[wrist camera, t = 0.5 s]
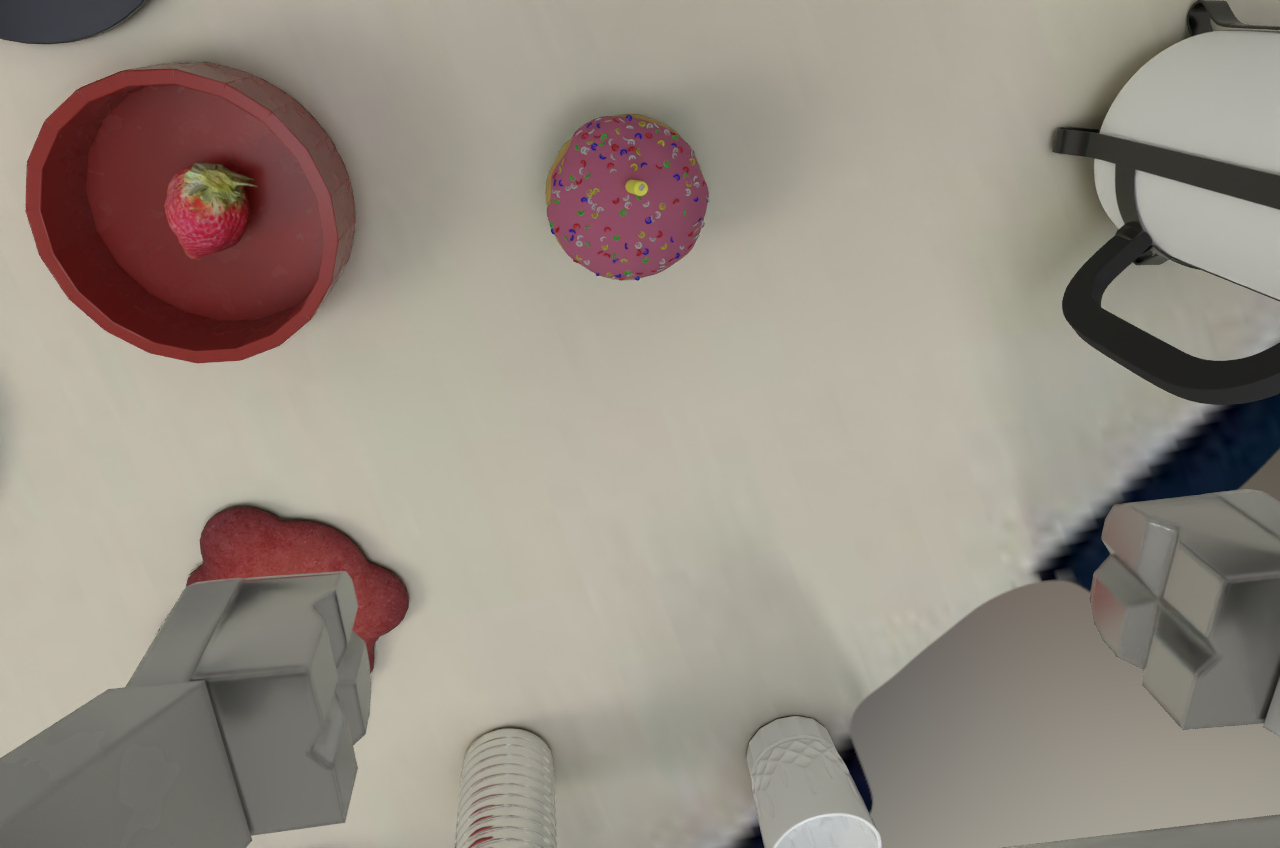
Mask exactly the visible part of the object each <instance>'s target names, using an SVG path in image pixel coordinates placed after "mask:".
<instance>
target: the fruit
mask: <svg viewBox="0 0 1280 848" xmlns="http://www.w3.org/2000/svg"><path fill="white" fill-rule="evenodd" d="M253 180H254V179H251V178H249V177H247V176H244V175H241V174H238V173H235V172H233V171H231V170H229V169H228V168H226V167H224V166H223V165H220V164H212V163H194V164H193V165H192V166H189V167H186V168H183V169H182V170H180V171H179V172H178V173H176V174H175V175H174V176H173V177H172V179H171V181H170V183H169V185H168V189H167V199H166V201H165V205H164V207H165V212H166V216H167V219H168V224H169V226H170V228H171V229H172V231H173V232H174V233H175V234H176V236H177V237H178V240H179V243H180V244H181V245H182V247H183V249H184V251H185V253H186V255H187V256H188V257H189V258H191V259H199V258H201V257H202V256H204V255H206V254H213V253H216V252H219V251H223V250H225V249H228V248H230V247H232V246H235V245H236V244H237V243H238V242H239V241H240V240H241V238H242V236H243V235H244V233H245V230H246V227H247V225H248V221H249V216H250V205H249V199H248V196H247V193H246V191H245V190H244V186H254V187H258V186H256V185H252V184H249V183H247V182H248V181H253Z"/></svg>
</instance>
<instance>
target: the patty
mask: <svg viewBox="0 0 1280 848" xmlns="http://www.w3.org/2000/svg"><path fill="white" fill-rule="evenodd" d="M200 548H201V554H202V557H203V561H204V563H203V564H202V565H201V566H200V567H199V568H198V569H196V570H195V571H194V572H193V573H192V574H191V575H190V577H189V578H188V580H187V585H186V587H187V586H188V585H191V584H193V583H196V582H203V581H213V580H223V579H232V578H243V579H246V578H250V577H265V576H279V575H294V574H308V573H323V572H337V571H346V572H347V573H348V574H349V576H350V577H351V578H352V581H353V585H354V589H355V594H356V598H357V602H358V610H357V613H356V617H355V621H354V624H353V628H352V631H353V632H355V633H356V634H357V635H358V636H359V637H360V638H362V639H363V640H364V641H365V642H366V647H367V652H368V658H369V664H370V674H371V672H372V670H373V665H374V655H373V651H374V645H375V642H376V641H377V639H378V638H379V637H380V636H382V635H384V634H386V633H388V632H389V631H391V630H392V629H394V628H395V627H396V626H398V625H399V624H400V622H401V621H402V620H403V619H404V617H405V614H406V612H407V610H408V605H409V598H408V594H407V590H406V588H405V586H404V584H403V583H402V581H401V580H400V579H399V578H398V577H396V576H395V575H394V574H393V573H392V572H390V571H388V570H386V569H384V568H381V567H379V566H377V565H374V564H372V563H371V562H369V561H367V559H366V558H365V556H364V554H363V553H362V552H361V551H360V549H359V548H358V547H357V546H356V545H355V544H354V543H353V542H352V541H351V540H350V539H349V538H348V537H347V536H345V535H344V534H342V533H340V532H339V531H337V530H335V529H333V528H331V527H328V526H326V525H322V524H319V523H315V522H310V521H299V520H292V521H286V520H283V519H280V518H278V517H276V516H274V515H272V514H270V513H268V512H265V511H263V510H260V509H258V508H252V507H233V508H229V509H226V510H223V511H221V512H219V513H217V514H216V515H214V516H213V517H212V518H211V519H210V520H209V521H208V522H207V524H206V526H205V527H204V529H203V531H202V534H201V538H200Z"/></svg>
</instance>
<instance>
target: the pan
mask: <svg viewBox="0 0 1280 848" xmlns="http://www.w3.org/2000/svg"><path fill="white" fill-rule="evenodd" d="M194 163H212V164H220V165H223V166H224V167H226V168H228V169H229V170H231V171H233V172H235V173H238V174H241V175H244V176H247V177H249V178H251V179H254V180H253V181H248V182H247V183H249V184H252V185H256V186H258V187H254V186H244V190H245V191H246V193H247V196H248V199H249V205H250V216H249V221H248V225H247V227H246V230H245V233H244V235H243V236H242V238H241V240H240V241H239V242H238V243H237V244H236V245H235V246H232V247H230V248H228V249H225V250H223V251H219V252H216V253H213V254H206V255H204V256H202V257H201V258H199V259H191V258H189V257H188V256H187V255H186V253H185V251H184V249H183V247H182V245H181V244H180V243H179V240H178V237H177V236H176V234H175V233H174V232H173V231H172V229H171V228H170V226H169V224H168V219H167V216H166V212H165V207H164V205H165V201H166V199H167V189H168V185H169V183H170V181H171V179H172V177H173V176H174V175H175V174H176V173H178V172H179V171H180V170H182V169H183V168H186V167H189V166H192V165H193V164H194ZM26 214H27V217H28V220H29V224H30V227H31V230H32V233H33V236H34V240H35V243H36V246H37V249H38V252H39V256H41V259H42V260H43V262H44V263H45V265H46V266H47V268H48V269H49V271H50V272H51V274H52V275H53V277H54V278H55V280H56V281H57V283H58V284H59V285H60V287H61V288H62V290H63V291H64V293H65V294H66V296H67V297H69V300H71V301H72V302H73V303H74V304H75V305H76V306H78V307H79V308H80V309H81V310H82V311H83V312H84V313H86V314H87V315H88V316H89V317H90V318H91V319H92V320H94V321H95V322H96V323H97V324H98V325H99V326H100V327H102V328H103V329H104V330H105V331H107V332H109V333H111V334H113V335H115V336H117V337H119V338H121V339H123V340H125V341H127V342H129V343H131V344H132V345H134V346H136V347H138V348H140V349H142V350H144V351H146V352H149V353H151V354H156V355H161V356H165V357H170V358H175V359H179V360H184V361H189V362H193V363H208V362H224V361H240V360H243V359H246V358H249V357H251V356H254V355H256V354H259V353H262V352H264V351H267V350H270V349H272V348H275V347H277V346H280V344H282V343H284V342H285V341H286V340H287V339H288V338H290V337H291V336H292V335H293V334H294V333H296V332H297V331H298V330H299V329H300V328H301V327H303V326H304V325H305V324H306V323H307V322H309V321H310V320H311V319H312V317H313V316H314V315H315V313H316V312H317V310H318V309H319V307H320V306H321V305H322V303H323V302H324V300H325V299H326V297H327V296H328V294H329V293H330V292H331V290H332V288H333V286H334V285H335V283H336V281H337V279H338V278H339V276H340V274H341V272H342V270H343V269H344V267H345V265H346V263H347V262H348V259H349V256H350V251H351V248H352V242H353V237H354V231H355V207H354V197H353V192H352V188H351V184H350V180H349V177H348V174H347V171H346V169H345V166H344V163H343V161H342V159H341V157H340V155H339V153H338V151H337V149H336V147H335V146H334V144H333V143H332V141H331V140H330V138H329V137H328V135H327V134H326V132H325V131H324V129H323V128H322V127H321V126H320V125H319V123H318V122H317V121H316V120H315V119H314V118H313V116H312V115H311V114H310V113H309V112H307V111H306V110H305V109H304V108H303V107H302V106H301V105H300V104H299V103H298V102H297V101H295V100H294V99H293V98H291V97H290V96H289V95H287V94H286V93H285V92H283V91H282V90H280V89H279V88H277V87H275V86H273V85H272V84H270V83H268V82H267V81H265V80H263V79H261V78H258V77H256V76H254V75H252V74H249V73H247V72H244V71H240V70H237V69H234V68H230V67H227V66H221V65H216V64H213V63H207V62H201V63H173V64H159V65H153V66H147V67H142V68H136V69H130V70H125V71H120V72H118V73H115V74H113V75H110V76H108V77H105V78H103V79H100V80H98V81H95V82H93V83H90V84H88V85H86V86H83V87H81V88H79V89H77V90H76V91H75V92H74V93H73V94H72V95H71V96H70V97H69V98H68V99H67V100H66V101H65V102H64V103H62V104H61V105H60V106H59V107H58V108H57V109H56V110H55V111H54V112H53V113H52V114H51V115H50V116H49V117H48V118H47V119H46V120H45V121H44V123H43V126H42V128H41V130H40V133H39V135H38V137H37V140H36V142H35V144H34V147H33V149H32V151H31V154H30V156H29V159H28V161H27V178H26Z"/></svg>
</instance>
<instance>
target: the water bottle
mask: <svg viewBox="0 0 1280 848" xmlns="http://www.w3.org/2000/svg"><path fill="white" fill-rule="evenodd" d="M554 777H555V773H554V763H553V758H552V754H551V752H550V749H549V747H548V746H547V744H546V743H545V742H544V741H543V740H542V739H541V738H540V737H538V736H537V735H535V734H533V733H531V732H529V731H526V730H522V729H516V728H504V729H498V730H494V731H491V732H489V733H487V734H485V735H483V736H481V737H480V738H478V739H477V740H476V741H475V742H474V743H473V744H472V745H471V746H470V748H469V749H468V751H467V753H466V755H465V758H464V761H463V766H462V772H461V781H460V792H459V803H458V814H457V825H456V836H455V847H454V848H557V840H556V808H555V778H554Z"/></svg>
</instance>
